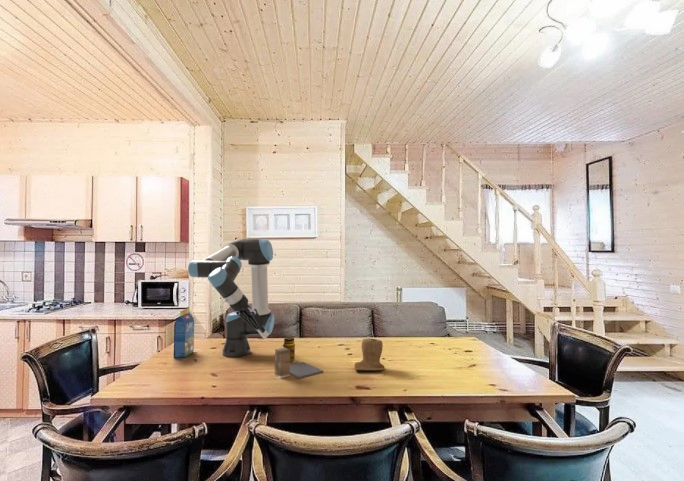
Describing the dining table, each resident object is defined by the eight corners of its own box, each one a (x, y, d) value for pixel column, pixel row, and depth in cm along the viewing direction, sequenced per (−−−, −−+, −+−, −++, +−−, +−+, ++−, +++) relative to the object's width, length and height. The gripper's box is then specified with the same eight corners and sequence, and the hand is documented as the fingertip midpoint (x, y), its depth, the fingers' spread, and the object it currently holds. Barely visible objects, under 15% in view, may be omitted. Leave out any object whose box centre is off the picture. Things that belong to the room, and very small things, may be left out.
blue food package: (173, 358, 191) (174, 311, 192) (182, 351, 203) (183, 307, 204) (184, 358, 191) (185, 311, 192) (193, 351, 203) (194, 307, 204)
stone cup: (382, 365, 182) (382, 335, 183) (385, 373, 170) (386, 341, 171) (353, 365, 182) (353, 335, 182) (354, 373, 170) (354, 341, 170)
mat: (279, 368, 175) (279, 367, 175) (303, 363, 184) (303, 361, 184) (298, 378, 162) (298, 376, 162) (323, 372, 171) (323, 370, 171)
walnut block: (274, 375, 167) (275, 349, 167) (284, 372, 170) (284, 347, 170) (280, 378, 163) (280, 351, 163) (289, 375, 166) (289, 349, 166)
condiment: (297, 361, 187) (297, 338, 187) (282, 364, 182) (282, 340, 183) (291, 358, 193) (291, 335, 193) (276, 360, 188) (277, 337, 189)
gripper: (222, 305, 154) (252, 342, 164) (239, 305, 146) (270, 344, 156) (233, 293, 159) (262, 329, 169) (250, 292, 151) (280, 330, 161)
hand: (266, 336), depth 162 cm, fingers closed
